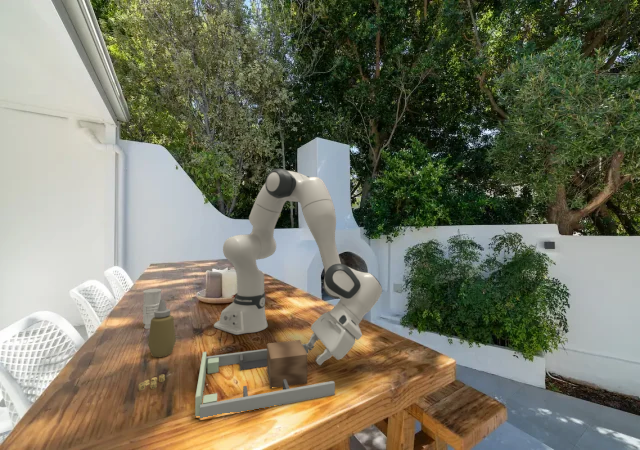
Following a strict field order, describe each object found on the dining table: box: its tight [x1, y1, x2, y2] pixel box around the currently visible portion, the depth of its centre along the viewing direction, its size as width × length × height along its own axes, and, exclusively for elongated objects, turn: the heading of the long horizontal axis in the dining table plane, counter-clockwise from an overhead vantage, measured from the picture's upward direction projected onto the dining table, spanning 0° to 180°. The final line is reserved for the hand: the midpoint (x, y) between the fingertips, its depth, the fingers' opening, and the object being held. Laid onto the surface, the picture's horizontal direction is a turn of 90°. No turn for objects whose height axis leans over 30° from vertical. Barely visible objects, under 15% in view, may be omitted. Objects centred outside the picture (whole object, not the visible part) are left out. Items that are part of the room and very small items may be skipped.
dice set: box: [138, 373, 166, 391], centre depth 76 cm, size 5×5×2 cm
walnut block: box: [266, 339, 308, 389], centre depth 81 cm, size 10×10×8 cm
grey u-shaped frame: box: [199, 343, 336, 419], centre depth 79 cm, size 32×25×3 cm
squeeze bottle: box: [147, 298, 177, 358], centre depth 94 cm, size 8×8×18 cm
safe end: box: [194, 351, 220, 417], centre depth 75 cm, size 4×23×5 cm, turn 19°
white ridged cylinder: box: [142, 288, 163, 330], centre depth 119 cm, size 7×7×15 cm
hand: (312, 355), depth 84 cm, fingers open, 8 cm apart
